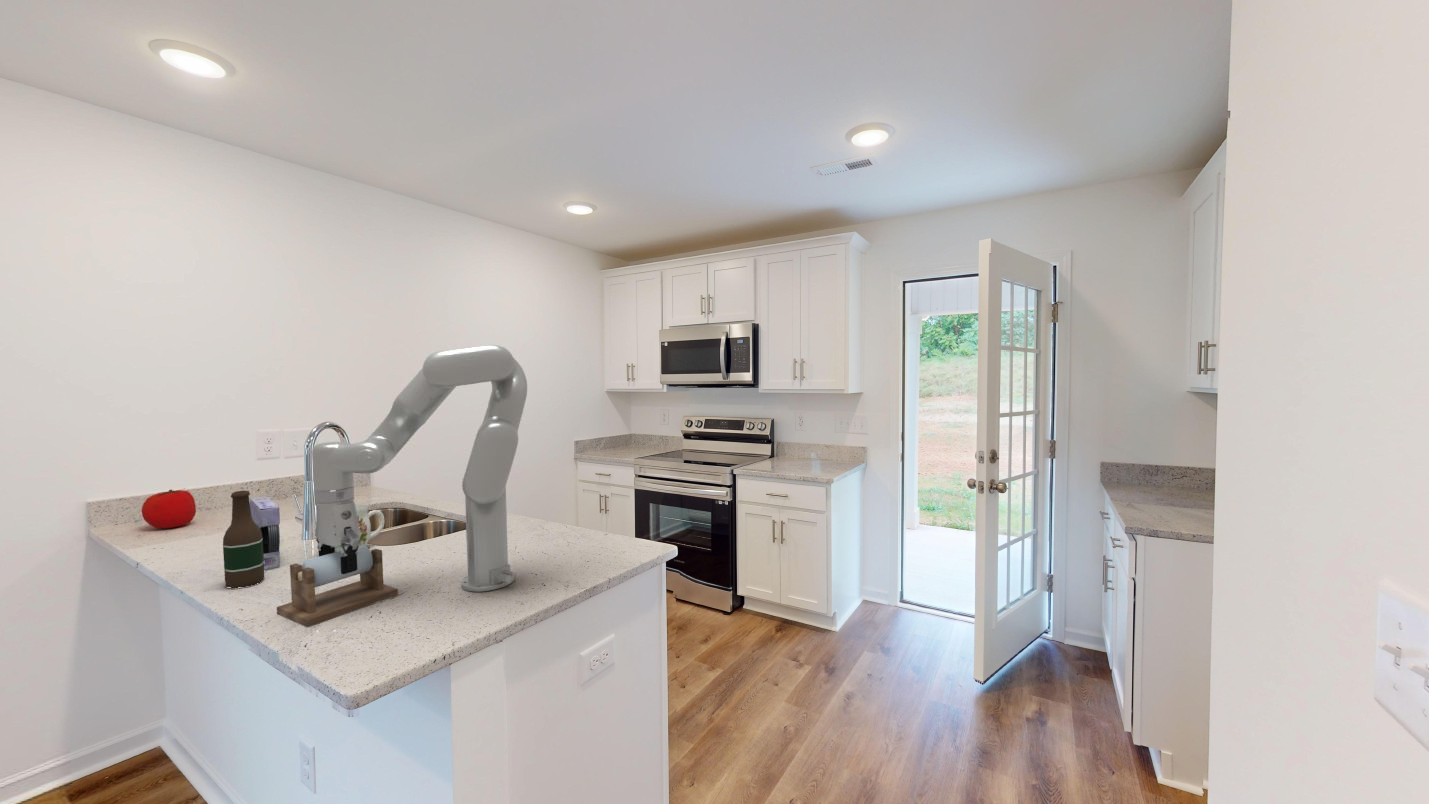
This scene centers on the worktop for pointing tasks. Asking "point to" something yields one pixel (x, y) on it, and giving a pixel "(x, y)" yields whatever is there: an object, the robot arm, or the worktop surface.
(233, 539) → the beer bottle
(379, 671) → the worktop surface
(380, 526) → the pitcher
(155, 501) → the tomato
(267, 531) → the cake pan box
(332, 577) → the kitchen roll
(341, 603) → the roll holder
